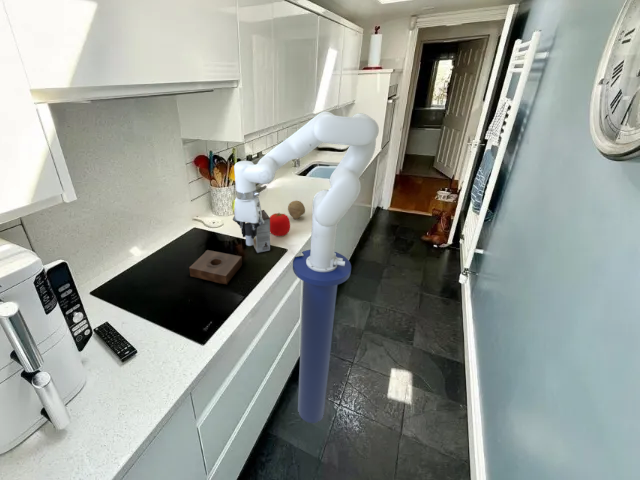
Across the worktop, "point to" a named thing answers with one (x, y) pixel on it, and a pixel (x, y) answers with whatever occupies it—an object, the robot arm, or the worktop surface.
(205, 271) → the holder
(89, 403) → the worktop surface
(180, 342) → the worktop surface
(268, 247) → the coffee box
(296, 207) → the natural sponge
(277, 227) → the tomato
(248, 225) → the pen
